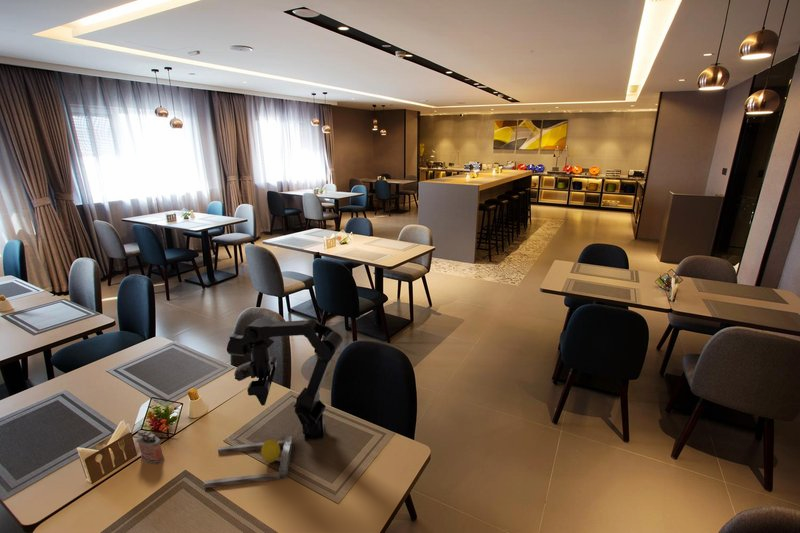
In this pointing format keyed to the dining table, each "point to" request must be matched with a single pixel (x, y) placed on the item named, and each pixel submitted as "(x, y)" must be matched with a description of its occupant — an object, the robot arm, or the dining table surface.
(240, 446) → the channel
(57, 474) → the dining table surface
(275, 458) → the lemon
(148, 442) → the pink grey container
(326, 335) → the robot arm
